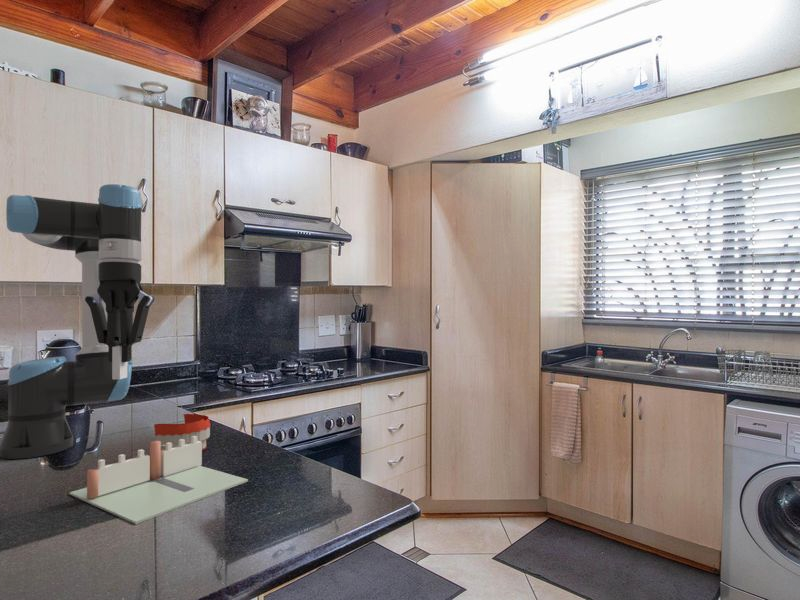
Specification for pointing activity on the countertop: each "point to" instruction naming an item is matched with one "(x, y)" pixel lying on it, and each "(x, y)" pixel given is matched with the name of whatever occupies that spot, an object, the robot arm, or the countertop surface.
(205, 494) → the card
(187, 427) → the toy
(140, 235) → the robot arm
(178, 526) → the countertop surface
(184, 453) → the fixed fence
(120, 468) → the swing panel
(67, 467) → the countertop surface
